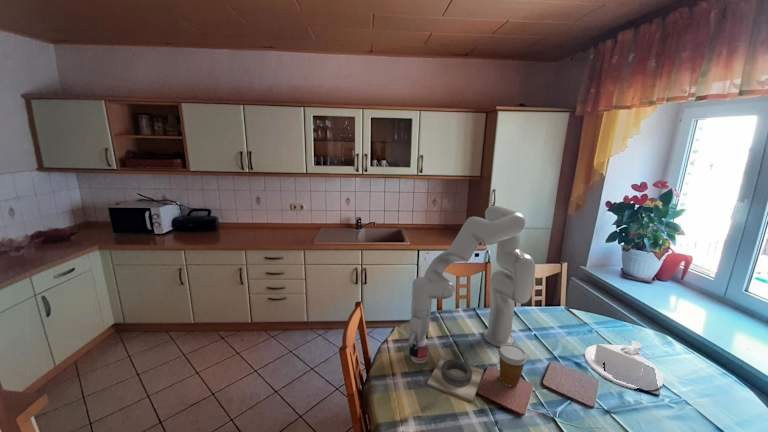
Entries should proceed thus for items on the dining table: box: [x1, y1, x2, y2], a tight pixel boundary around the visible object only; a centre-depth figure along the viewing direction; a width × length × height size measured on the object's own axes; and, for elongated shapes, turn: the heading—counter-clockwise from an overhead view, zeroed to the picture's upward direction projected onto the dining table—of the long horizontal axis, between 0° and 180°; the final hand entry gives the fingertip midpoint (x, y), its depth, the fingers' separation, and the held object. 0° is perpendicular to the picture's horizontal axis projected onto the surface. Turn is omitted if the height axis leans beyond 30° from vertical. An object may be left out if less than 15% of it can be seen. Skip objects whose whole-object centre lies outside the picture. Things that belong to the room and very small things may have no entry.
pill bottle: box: [410, 335, 428, 364], centre depth 126 cm, size 6×6×11 cm
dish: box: [584, 340, 665, 390], centre depth 124 cm, size 25×25×11 cm
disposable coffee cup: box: [497, 344, 528, 387], centre depth 116 cm, size 10×10×12 cm
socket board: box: [427, 356, 484, 403], centre depth 117 cm, size 16×16×4 cm
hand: (418, 349), depth 126 cm, fingers open, 9 cm apart
